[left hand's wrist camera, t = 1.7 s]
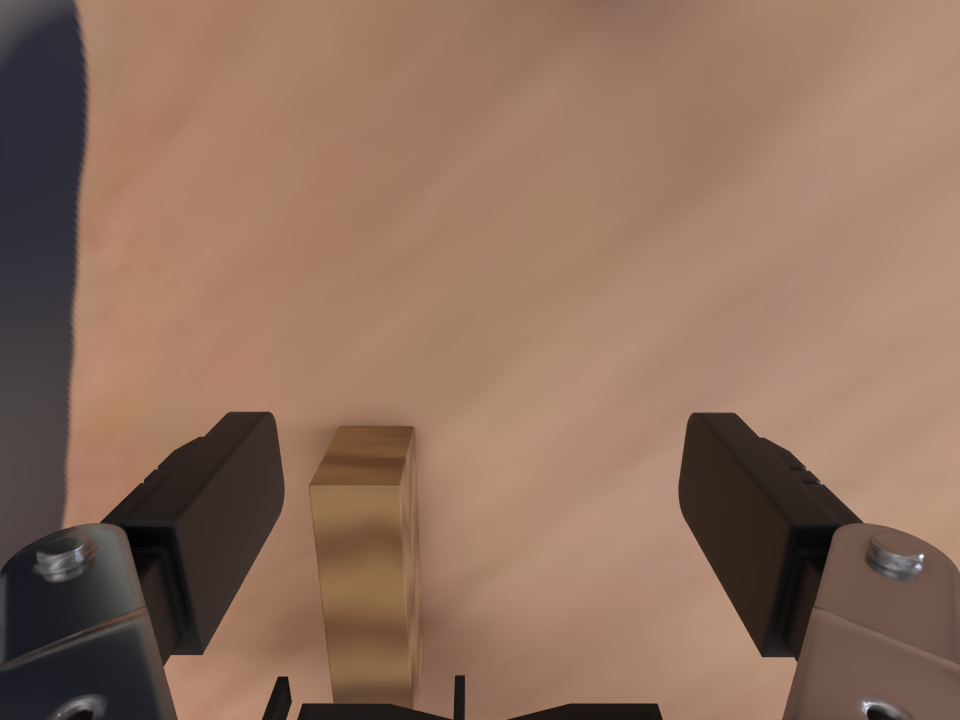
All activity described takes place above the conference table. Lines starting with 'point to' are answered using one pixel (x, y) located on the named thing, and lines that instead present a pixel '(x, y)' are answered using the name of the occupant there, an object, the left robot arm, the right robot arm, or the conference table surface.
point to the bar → (370, 565)
